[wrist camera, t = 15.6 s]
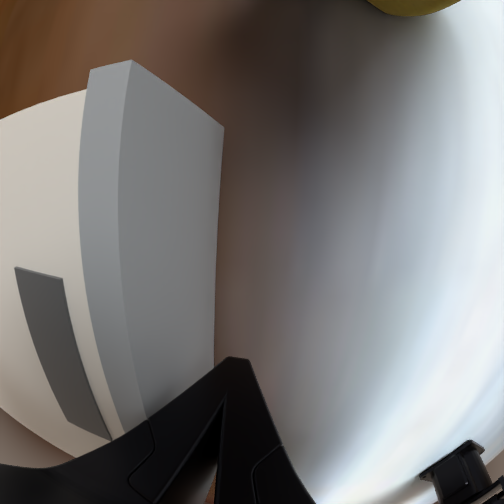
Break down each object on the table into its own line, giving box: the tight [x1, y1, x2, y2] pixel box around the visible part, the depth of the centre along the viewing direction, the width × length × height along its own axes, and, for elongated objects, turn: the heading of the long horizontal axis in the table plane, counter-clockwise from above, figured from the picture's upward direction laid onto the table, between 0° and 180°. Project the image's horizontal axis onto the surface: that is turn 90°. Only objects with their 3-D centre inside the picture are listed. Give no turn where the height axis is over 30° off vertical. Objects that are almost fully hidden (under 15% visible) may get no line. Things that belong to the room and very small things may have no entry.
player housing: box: [0, 89, 125, 458], centre depth 10 cm, size 12×14×7 cm
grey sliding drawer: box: [78, 60, 224, 433], centre depth 9 cm, size 12×14×7 cm
